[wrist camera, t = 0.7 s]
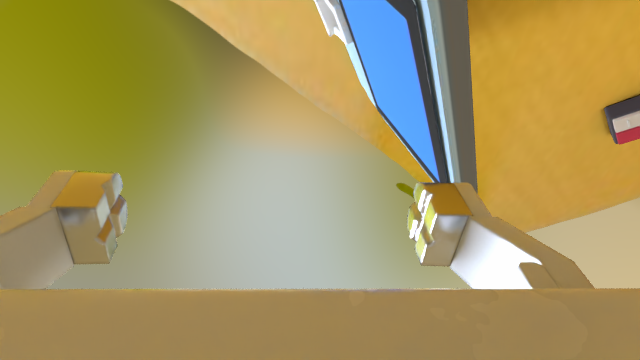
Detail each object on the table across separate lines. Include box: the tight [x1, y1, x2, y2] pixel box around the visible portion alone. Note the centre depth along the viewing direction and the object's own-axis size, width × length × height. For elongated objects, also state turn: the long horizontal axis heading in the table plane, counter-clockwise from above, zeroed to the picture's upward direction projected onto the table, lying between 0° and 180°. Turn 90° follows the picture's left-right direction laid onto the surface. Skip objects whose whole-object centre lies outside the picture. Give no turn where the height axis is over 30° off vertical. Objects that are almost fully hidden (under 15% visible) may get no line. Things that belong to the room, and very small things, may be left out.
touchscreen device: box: [314, 0, 477, 193], centre depth 48 cm, size 35×20×30 cm, turn 19°
